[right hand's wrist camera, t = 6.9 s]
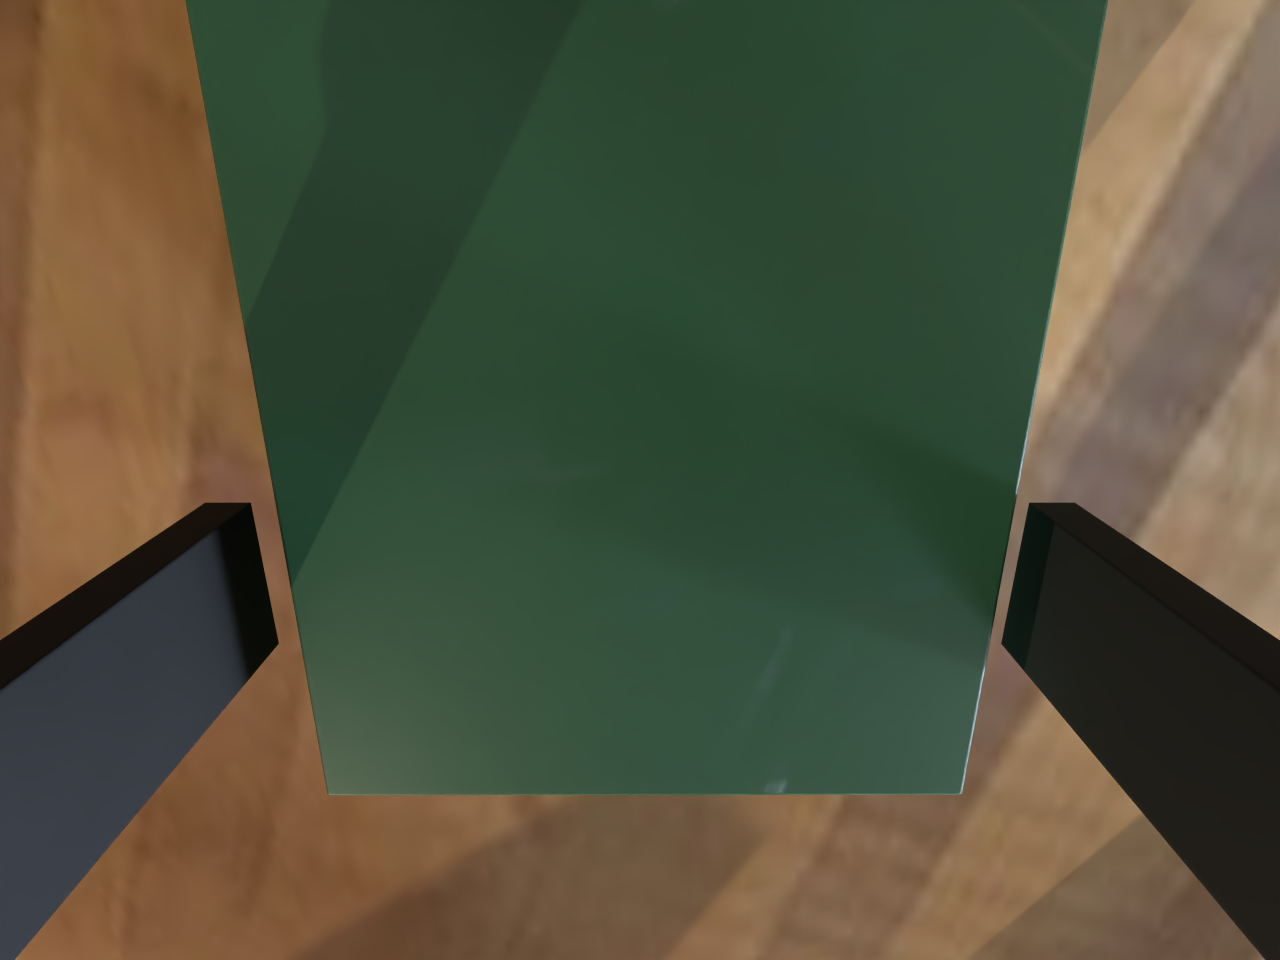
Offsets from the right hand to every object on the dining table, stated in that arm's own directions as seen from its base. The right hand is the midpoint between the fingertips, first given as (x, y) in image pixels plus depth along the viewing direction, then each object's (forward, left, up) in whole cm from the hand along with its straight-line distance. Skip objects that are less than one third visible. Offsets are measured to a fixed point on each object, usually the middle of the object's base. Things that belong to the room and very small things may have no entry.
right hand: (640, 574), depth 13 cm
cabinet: (+3, -4, -11) cm, 12 cm away
